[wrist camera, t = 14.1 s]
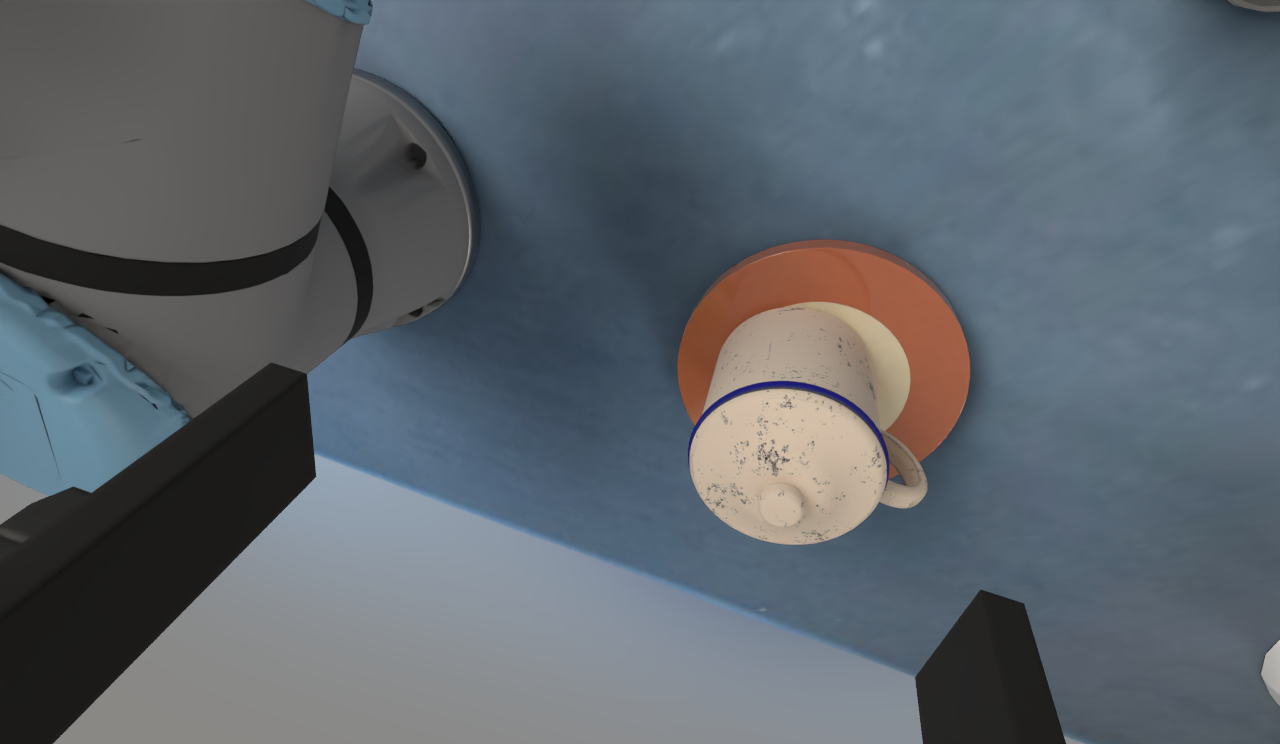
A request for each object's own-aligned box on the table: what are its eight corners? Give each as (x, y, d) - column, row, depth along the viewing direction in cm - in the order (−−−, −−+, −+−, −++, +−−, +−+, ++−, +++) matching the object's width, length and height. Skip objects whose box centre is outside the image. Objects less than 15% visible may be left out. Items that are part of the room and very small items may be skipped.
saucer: (658, 427, 45) (651, 446, 44) (721, 199, 36) (716, 211, 35) (895, 501, 44) (897, 524, 42) (1020, 282, 35) (1030, 299, 33)
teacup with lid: (689, 398, 41) (645, 534, 31) (755, 272, 36) (728, 388, 26) (869, 481, 41) (881, 643, 31) (962, 367, 36) (1010, 518, 26)
